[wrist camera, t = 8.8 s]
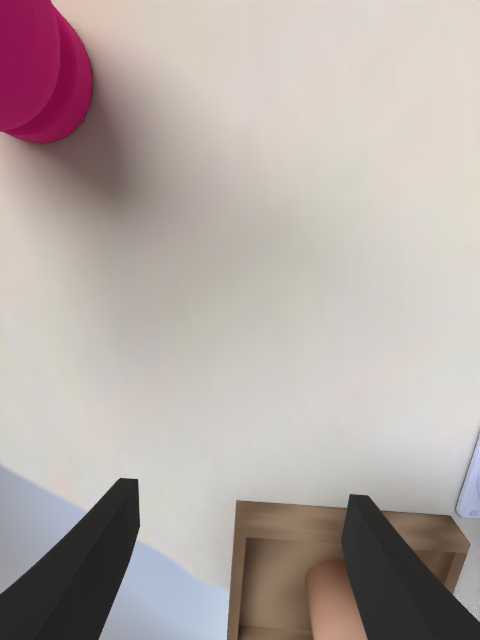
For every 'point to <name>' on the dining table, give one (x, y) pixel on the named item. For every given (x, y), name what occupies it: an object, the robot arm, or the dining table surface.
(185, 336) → the dining table surface
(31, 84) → the pepper mill
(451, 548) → the walnut tray
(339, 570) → the terracotta shaker
